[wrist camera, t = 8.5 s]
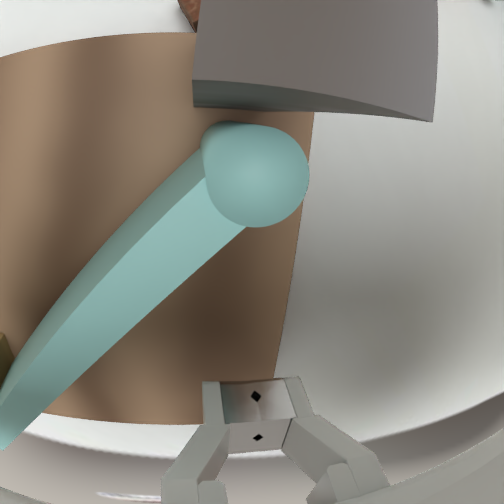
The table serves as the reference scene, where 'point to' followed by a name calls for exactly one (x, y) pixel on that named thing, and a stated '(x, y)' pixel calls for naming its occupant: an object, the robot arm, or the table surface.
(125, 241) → the gate
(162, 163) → the gate frame
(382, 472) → the robot arm
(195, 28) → the miniature gate
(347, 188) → the table surface
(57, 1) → the table surface
